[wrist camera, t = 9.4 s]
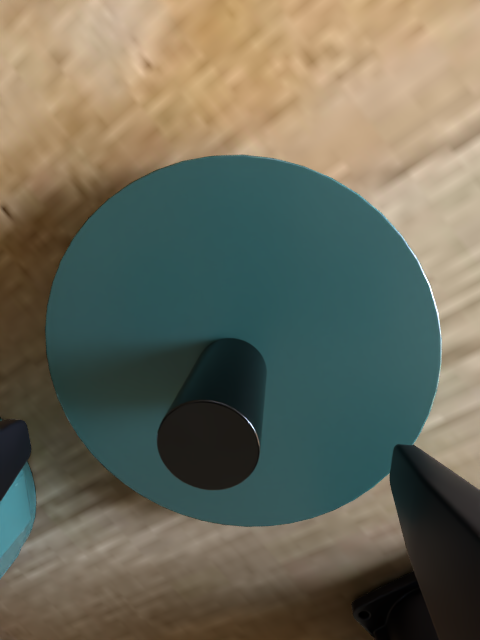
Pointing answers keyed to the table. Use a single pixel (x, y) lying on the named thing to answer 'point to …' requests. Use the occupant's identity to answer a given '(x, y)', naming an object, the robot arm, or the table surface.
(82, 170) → the table surface
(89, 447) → the pot lid
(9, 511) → the pot
